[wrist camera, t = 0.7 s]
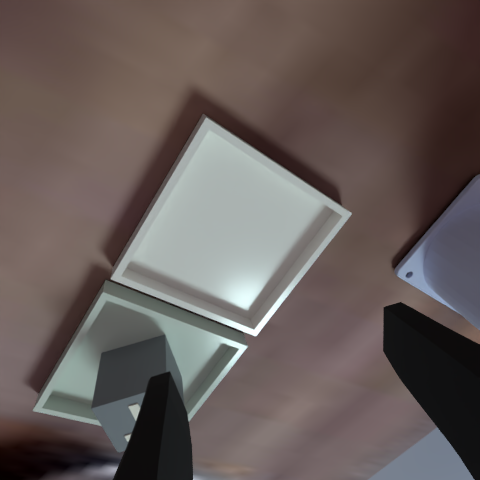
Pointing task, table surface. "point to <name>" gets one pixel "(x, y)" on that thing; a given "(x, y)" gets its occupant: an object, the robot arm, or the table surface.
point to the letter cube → (129, 384)
